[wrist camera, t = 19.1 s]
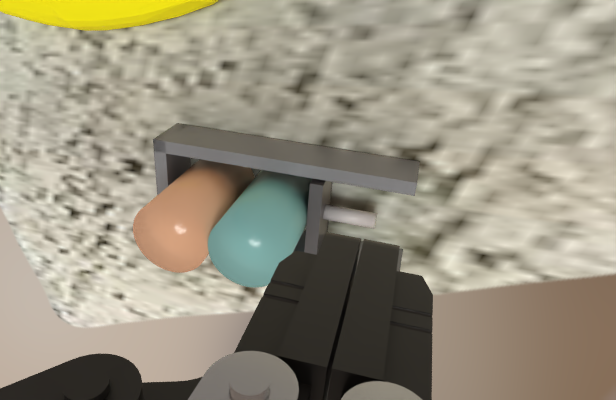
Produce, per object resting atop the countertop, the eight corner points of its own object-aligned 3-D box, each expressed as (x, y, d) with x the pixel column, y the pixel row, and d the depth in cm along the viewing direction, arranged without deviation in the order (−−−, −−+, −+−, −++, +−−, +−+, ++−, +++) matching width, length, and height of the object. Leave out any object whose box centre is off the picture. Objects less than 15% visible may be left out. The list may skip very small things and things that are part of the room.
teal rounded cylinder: (255, 212, 44) (208, 278, 35) (257, 154, 41) (206, 210, 32) (316, 223, 43) (284, 294, 34) (321, 165, 40) (288, 225, 31)
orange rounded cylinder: (196, 202, 45) (136, 263, 36) (194, 145, 42) (129, 196, 33) (254, 213, 44) (207, 279, 35) (256, 155, 41) (206, 211, 32)
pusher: (315, 231, 43) (303, 256, 39) (321, 162, 40) (309, 183, 36) (373, 242, 42) (366, 269, 38) (384, 173, 39) (378, 195, 35)
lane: (182, 216, 46) (160, 239, 42) (177, 123, 42) (153, 139, 38) (400, 259, 42) (396, 287, 39) (419, 161, 38) (417, 183, 34)
